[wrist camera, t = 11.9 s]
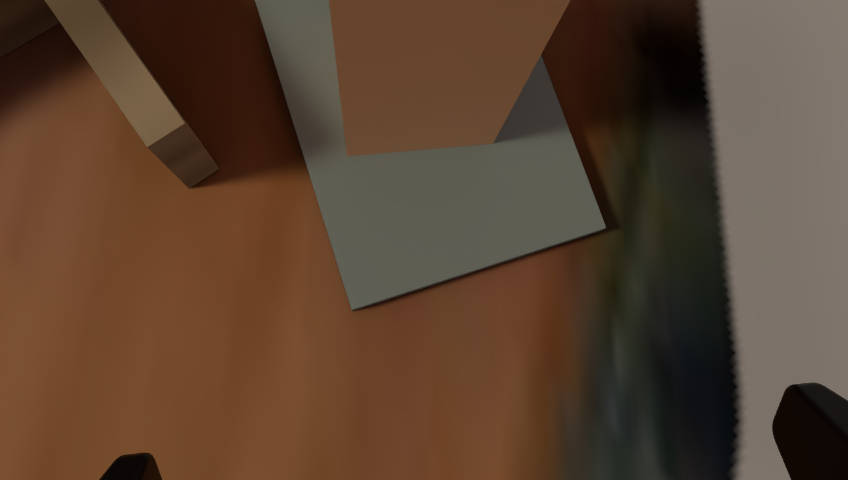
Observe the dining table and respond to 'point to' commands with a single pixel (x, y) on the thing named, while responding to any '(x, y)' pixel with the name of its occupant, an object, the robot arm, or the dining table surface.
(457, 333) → the dining table surface
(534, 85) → the slate mat
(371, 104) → the tan block
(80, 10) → the beige u-shaped block
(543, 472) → the dining table surface
